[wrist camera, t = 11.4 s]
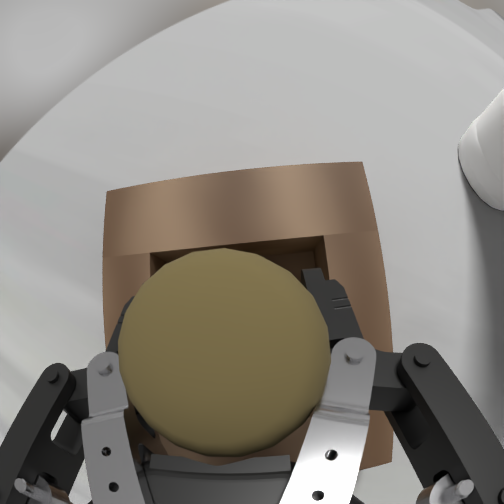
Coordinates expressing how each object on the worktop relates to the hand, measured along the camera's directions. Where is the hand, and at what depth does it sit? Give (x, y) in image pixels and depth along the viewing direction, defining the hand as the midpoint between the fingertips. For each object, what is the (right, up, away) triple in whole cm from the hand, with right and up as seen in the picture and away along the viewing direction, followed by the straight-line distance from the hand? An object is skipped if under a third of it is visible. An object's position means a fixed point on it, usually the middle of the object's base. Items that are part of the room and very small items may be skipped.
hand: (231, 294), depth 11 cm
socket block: (+1, -3, +6) cm, 7 cm away
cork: (+1, -4, +4) cm, 6 cm away
